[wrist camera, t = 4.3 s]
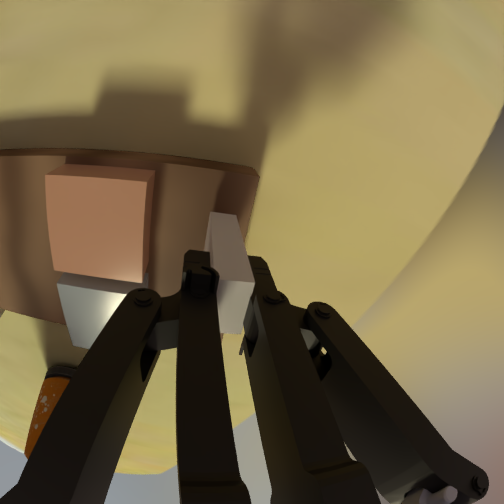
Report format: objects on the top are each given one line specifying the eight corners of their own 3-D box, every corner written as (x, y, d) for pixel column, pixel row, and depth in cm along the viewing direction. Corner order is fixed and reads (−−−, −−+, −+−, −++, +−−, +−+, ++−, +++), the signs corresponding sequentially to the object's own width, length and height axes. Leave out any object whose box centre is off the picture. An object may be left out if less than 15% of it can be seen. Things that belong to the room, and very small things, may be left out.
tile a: (68, 250, 16) (54, 270, 14) (64, 163, 13) (45, 174, 11) (148, 260, 17) (142, 283, 15) (155, 170, 15) (146, 181, 12)
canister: (44, 380, 26) (17, 507, 9) (56, 342, 23) (15, 511, 6) (100, 408, 30) (90, 533, 13) (126, 377, 27) (116, 543, 10)
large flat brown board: (9, 292, 19) (-2, 307, 17) (-13, 150, 13) (-32, 158, 11) (219, 324, 24) (221, 344, 22) (252, 167, 18) (259, 176, 16)
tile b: (81, 324, 19) (73, 345, 17) (70, 262, 16) (56, 283, 14) (149, 334, 21) (145, 358, 18) (148, 273, 18) (142, 296, 16)
